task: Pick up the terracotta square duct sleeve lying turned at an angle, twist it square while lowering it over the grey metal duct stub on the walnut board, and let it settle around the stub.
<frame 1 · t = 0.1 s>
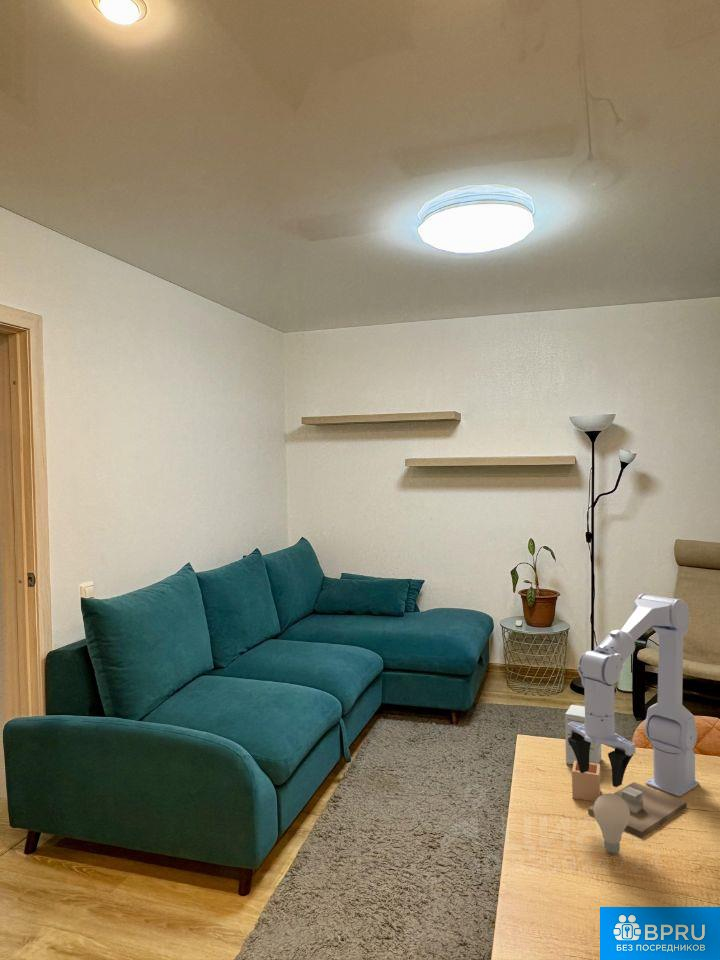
hand: (600, 778, 136), 10 cm above the table, tool pointing down, fingers open, 7 cm apart
light bulb: (612, 853, 127), on the table
duct sleeve: (586, 794, 150), on the table
duct board: (637, 810, 142), on the table
supplement box: (583, 762, 166), on the table
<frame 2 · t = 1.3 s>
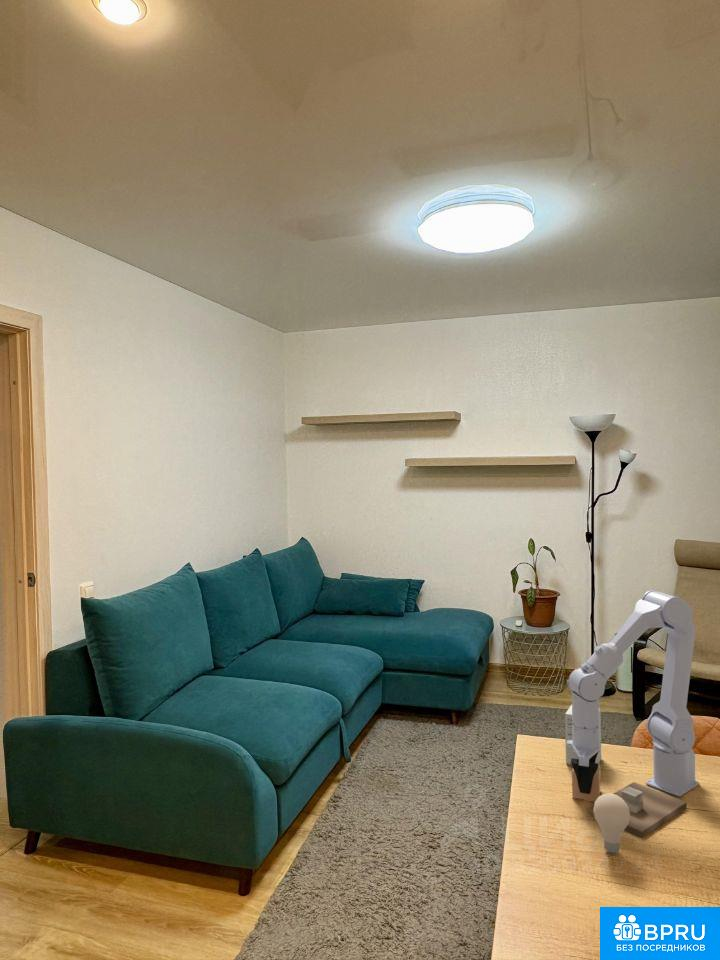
hand: (586, 784, 150), 2 cm above the table, tool pointing down, fingers open, 7 cm apart
nothing on the table moved.
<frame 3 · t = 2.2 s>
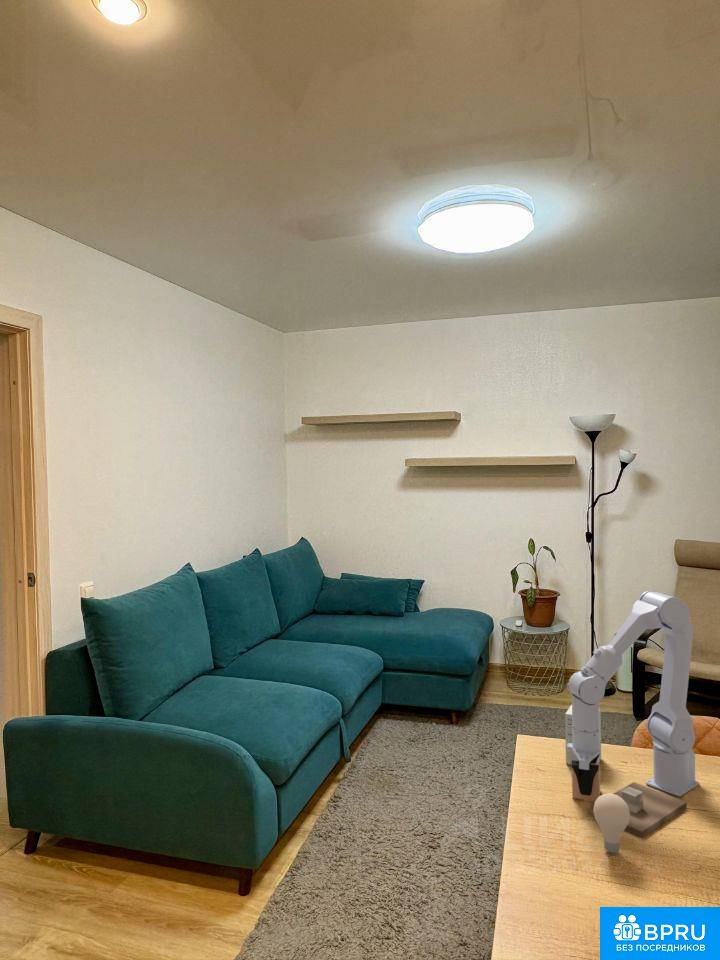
hand: (586, 788, 150), 1 cm above the table, tool pointing down, fingers closed on duct sleeve, 6 cm apart
duct sleeve: (586, 794, 150), on the table, touching gripper
everything else where it was.
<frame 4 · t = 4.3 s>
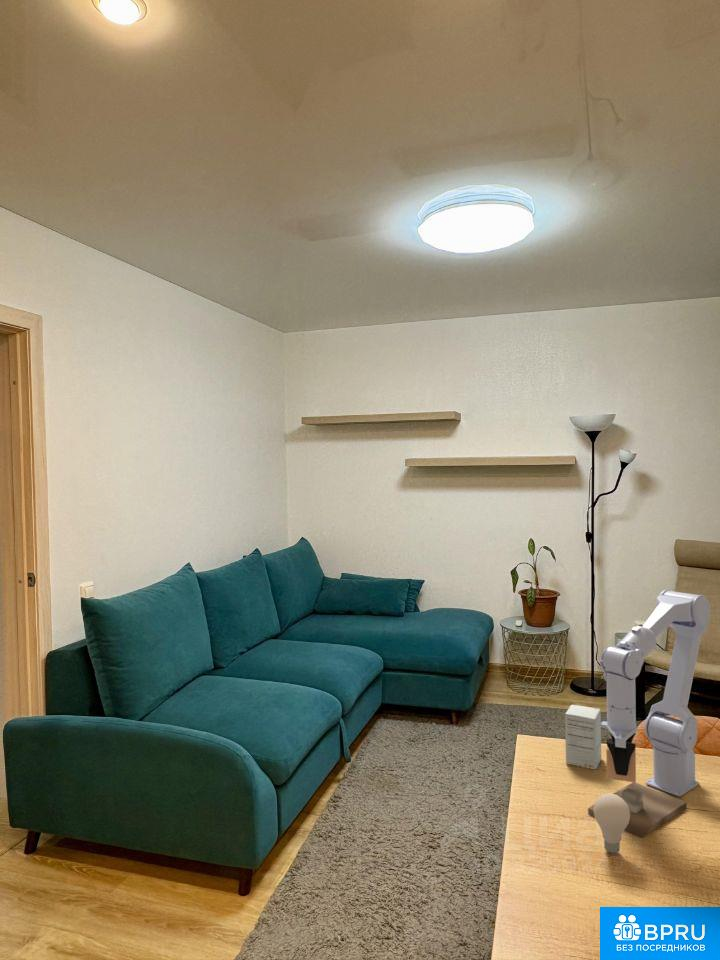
hand: (621, 768, 143), 9 cm above the table, tool pointing down, fingers closed on duct sleeve, 6 cm apart
duct sleeve: (621, 774, 143), point 7 cm above the table, touching gripper
everything else where it was.
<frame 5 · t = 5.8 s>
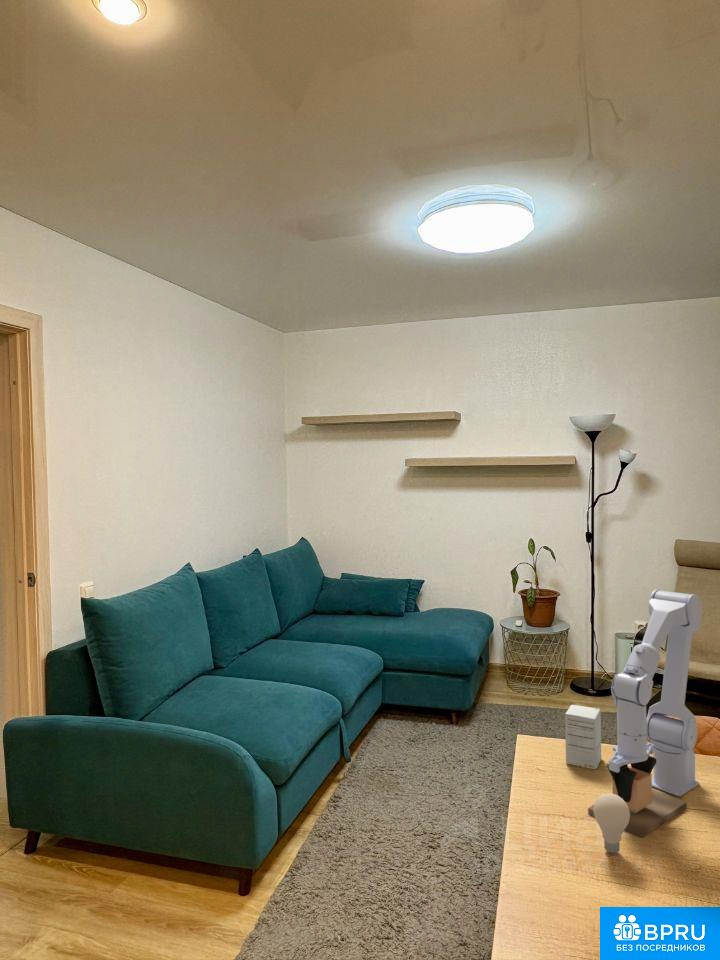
hand: (632, 795, 141), 4 cm above the table, tool pointing down, fingers closed on duct sleeve, 6 cm apart
duct sleeve: (632, 802, 141), point 2 cm above the table, touching gripper
everything else where it was.
when the fingers open (4 cm above the table, at t = 6.6 s): duct sleeve drops 1 cm, resting on duct board.
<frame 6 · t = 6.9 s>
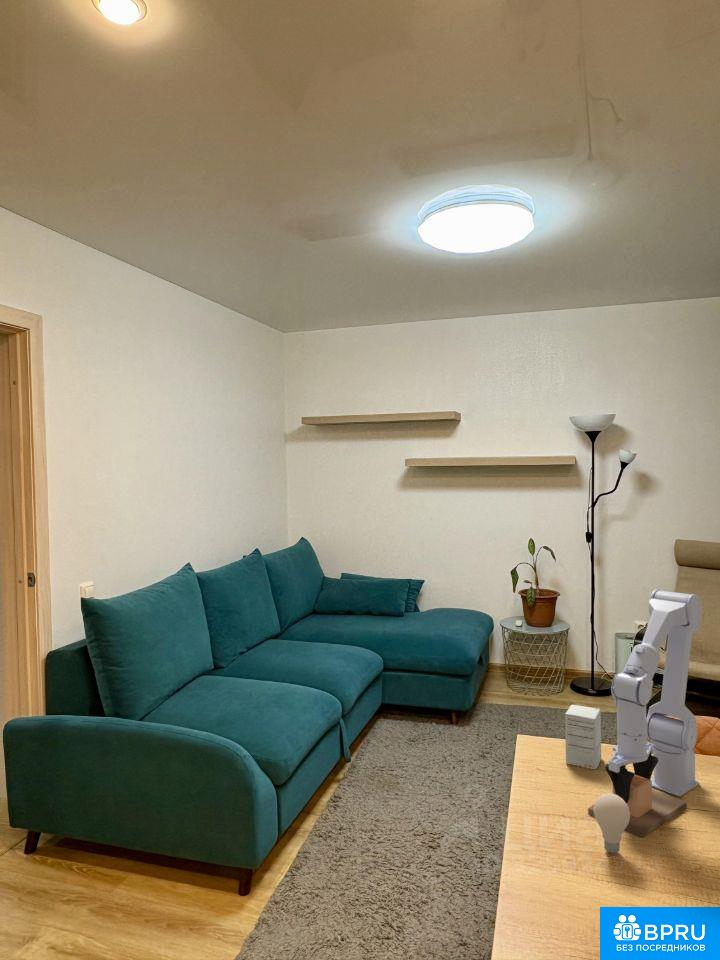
hand: (632, 795, 141), 4 cm above the table, tool pointing down, fingers open, 7 cm apart
duct sleeve: (632, 808, 141), point 1 cm above the table, touching duct board
everything else where it was.
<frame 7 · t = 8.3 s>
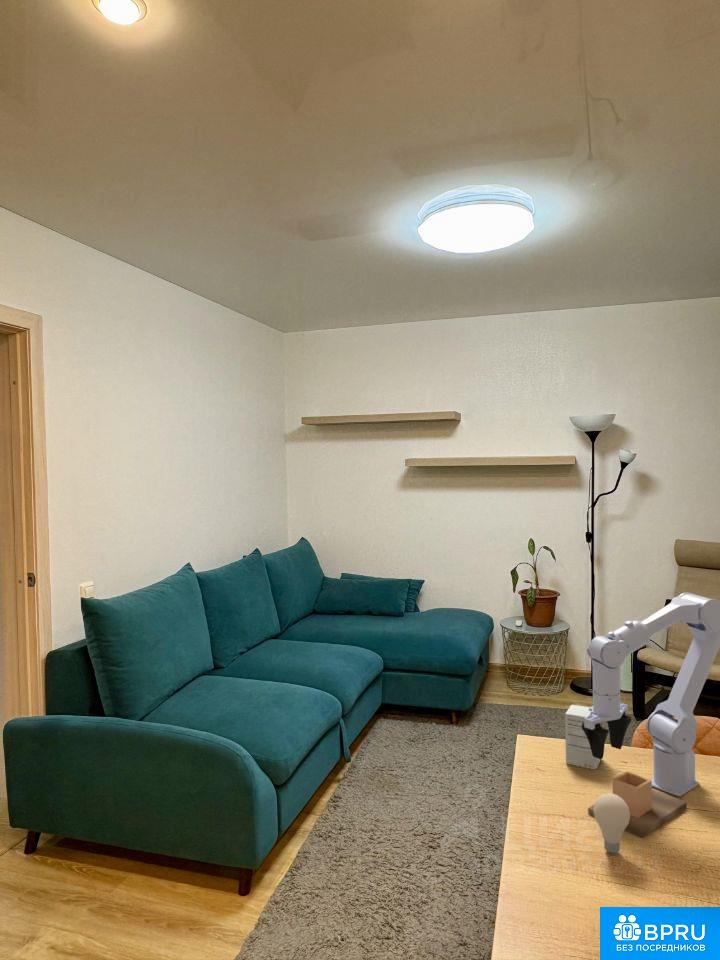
hand: (607, 752, 149), 9 cm above the table, tool pointing down, fingers open, 7 cm apart
nothing on the table moved.
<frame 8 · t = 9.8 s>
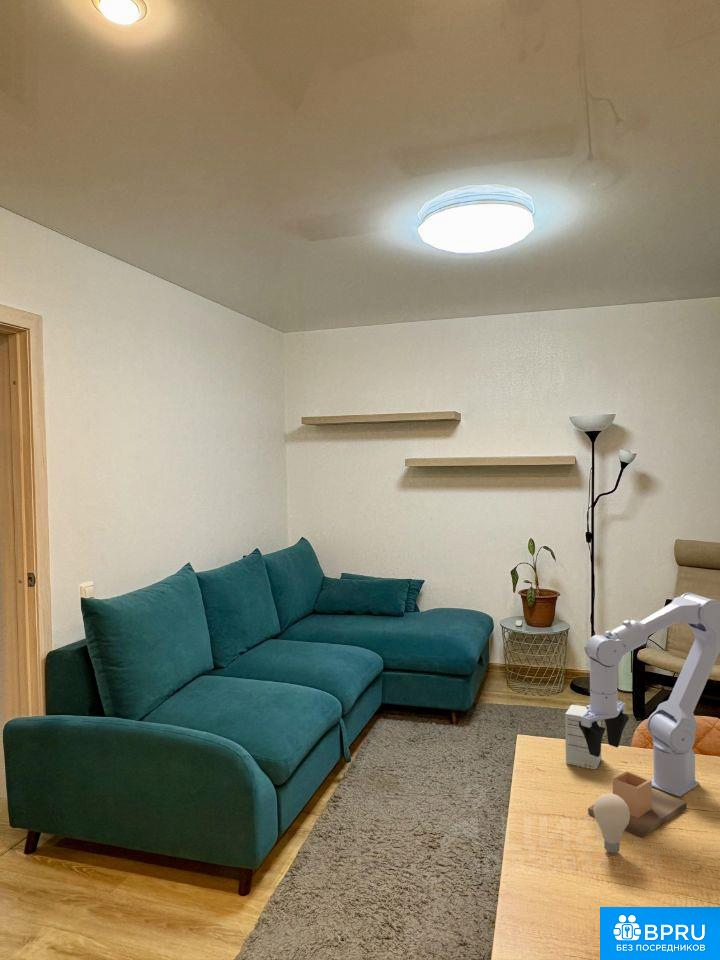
hand: (604, 750, 150), 9 cm above the table, tool pointing down, fingers open, 7 cm apart
nothing on the table moved.
at the end: duct sleeve 0.1 cm from the target spot on the duct board, point 1.2 cm above the duct board's base; duct sleeve tilted 0°; the gripper is holding nothing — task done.
